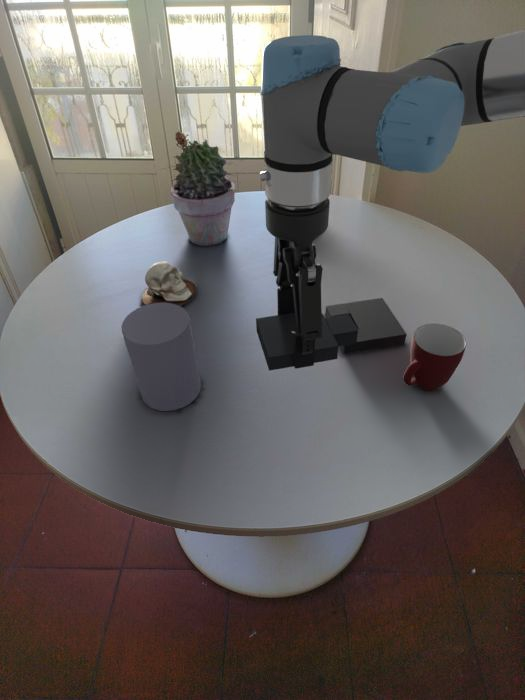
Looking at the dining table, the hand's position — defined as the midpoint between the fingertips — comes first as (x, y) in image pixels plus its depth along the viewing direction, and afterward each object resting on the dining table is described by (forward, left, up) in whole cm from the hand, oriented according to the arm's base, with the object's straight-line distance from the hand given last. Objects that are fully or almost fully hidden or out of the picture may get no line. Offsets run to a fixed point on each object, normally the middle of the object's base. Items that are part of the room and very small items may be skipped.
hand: (294, 343), depth 69 cm
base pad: (+16, -18, -14) cm, 28 cm away
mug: (-1, -23, -14) cm, 26 cm away
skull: (+37, +19, -14) cm, 44 cm away
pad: (0, -2, 0) cm, 2 cm away
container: (+8, +20, -14) cm, 26 cm away
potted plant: (+61, +7, -14) cm, 63 cm away
